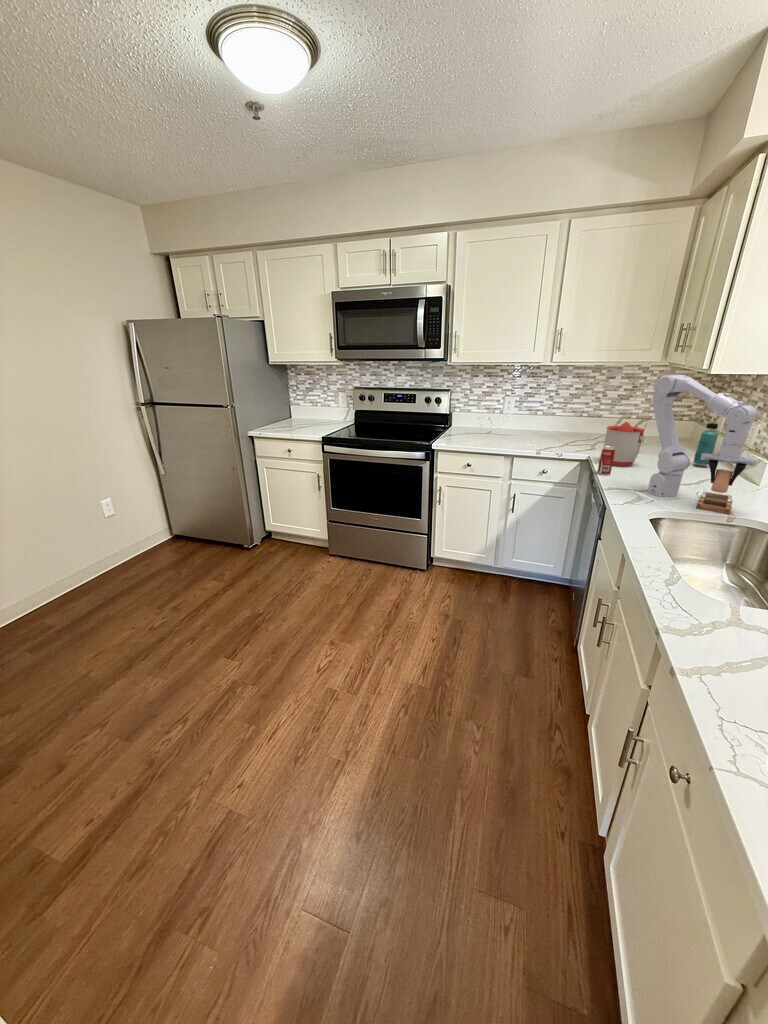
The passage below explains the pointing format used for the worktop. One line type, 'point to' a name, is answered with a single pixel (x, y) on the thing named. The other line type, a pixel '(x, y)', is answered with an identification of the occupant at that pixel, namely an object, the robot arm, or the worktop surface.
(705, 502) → the tray
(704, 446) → the beverage bottle
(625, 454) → the citrus juicer
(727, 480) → the tube
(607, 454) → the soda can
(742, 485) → the worktop surface
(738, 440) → the robot arm
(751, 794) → the worktop surface
